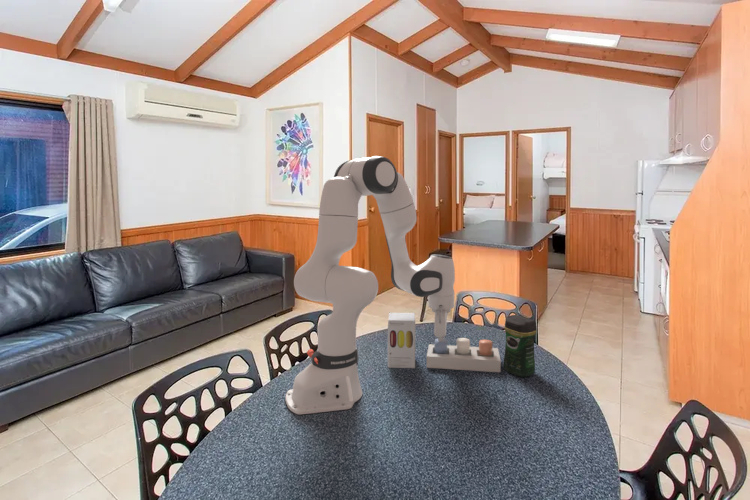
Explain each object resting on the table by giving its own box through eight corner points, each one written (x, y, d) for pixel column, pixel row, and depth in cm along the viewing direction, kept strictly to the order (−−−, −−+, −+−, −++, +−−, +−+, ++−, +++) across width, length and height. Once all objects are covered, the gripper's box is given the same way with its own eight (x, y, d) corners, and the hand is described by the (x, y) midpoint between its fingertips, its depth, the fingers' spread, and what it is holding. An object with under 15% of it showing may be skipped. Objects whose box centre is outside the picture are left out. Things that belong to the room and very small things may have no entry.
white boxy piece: (426, 367, 148) (426, 356, 147) (428, 354, 158) (428, 344, 158) (500, 372, 143) (500, 360, 142) (497, 358, 154) (497, 348, 153)
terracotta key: (479, 355, 147) (479, 343, 146) (478, 350, 151) (478, 339, 150) (492, 356, 146) (493, 344, 145) (491, 350, 150) (492, 339, 150)
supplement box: (387, 368, 148) (386, 320, 145) (388, 357, 157) (387, 311, 154) (415, 368, 147) (415, 320, 144) (415, 357, 156) (415, 311, 153)
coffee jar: (539, 374, 142) (541, 318, 139) (522, 380, 137) (525, 323, 135) (515, 363, 150) (517, 311, 147) (498, 369, 146) (500, 315, 143)
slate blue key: (434, 353, 150) (434, 342, 149) (434, 348, 154) (434, 337, 153) (447, 354, 149) (447, 343, 148) (447, 349, 153) (447, 338, 153)
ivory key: (456, 353, 148) (456, 342, 148) (456, 348, 153) (456, 337, 152) (469, 354, 147) (469, 342, 147) (469, 349, 152) (469, 338, 151)
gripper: (450, 310, 138) (449, 352, 140) (451, 293, 158) (450, 330, 160) (430, 310, 139) (429, 351, 142) (433, 293, 159) (433, 329, 161)
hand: (440, 340), depth 151 cm, fingers closed, pressing on slate blue key
